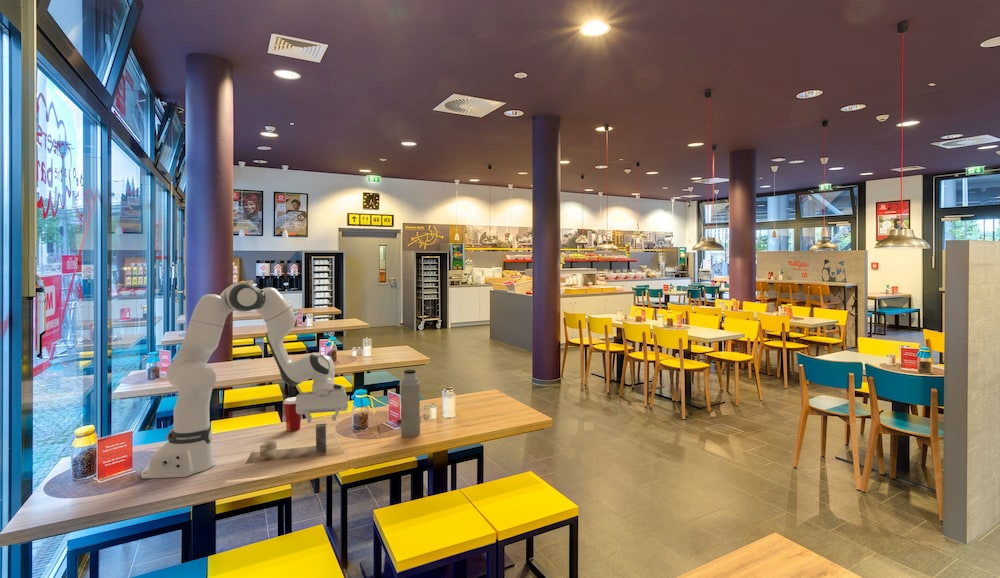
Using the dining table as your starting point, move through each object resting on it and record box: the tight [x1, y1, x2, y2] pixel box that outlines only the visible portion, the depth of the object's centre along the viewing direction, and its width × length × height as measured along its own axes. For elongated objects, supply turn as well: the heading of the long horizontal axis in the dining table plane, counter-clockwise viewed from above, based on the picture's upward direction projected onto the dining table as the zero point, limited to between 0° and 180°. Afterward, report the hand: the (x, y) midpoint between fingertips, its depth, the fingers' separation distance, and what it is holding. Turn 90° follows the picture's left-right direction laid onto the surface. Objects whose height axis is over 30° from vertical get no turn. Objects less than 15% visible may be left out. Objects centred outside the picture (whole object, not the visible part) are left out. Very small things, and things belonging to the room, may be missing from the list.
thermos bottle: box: [400, 369, 421, 438], centre depth 217 cm, size 8×8×28 cm
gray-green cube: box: [259, 439, 278, 459], centre depth 191 cm, size 5×5×5 cm
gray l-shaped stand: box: [244, 423, 328, 464], centre depth 192 cm, size 28×12×11 cm, turn 106°
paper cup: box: [283, 396, 302, 432], centre depth 224 cm, size 8×8×14 cm
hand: (321, 421), depth 201 cm, fingers open, 8 cm apart
